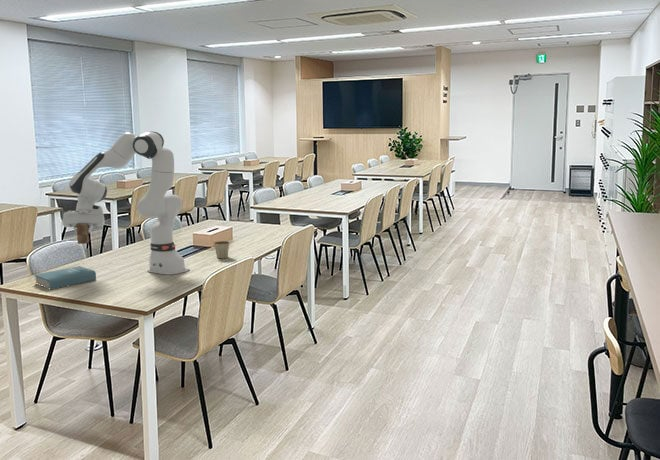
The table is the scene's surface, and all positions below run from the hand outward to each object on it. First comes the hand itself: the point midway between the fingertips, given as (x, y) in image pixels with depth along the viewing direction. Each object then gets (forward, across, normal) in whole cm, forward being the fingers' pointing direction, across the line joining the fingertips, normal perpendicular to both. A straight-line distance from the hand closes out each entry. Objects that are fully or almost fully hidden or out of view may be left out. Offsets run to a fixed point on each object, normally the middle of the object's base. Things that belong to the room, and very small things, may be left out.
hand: (82, 232), depth 306 cm
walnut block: (+3, 0, +4) cm, 5 cm away
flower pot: (-2, +69, +32) cm, 77 cm away
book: (+26, -6, +5) cm, 28 cm away
